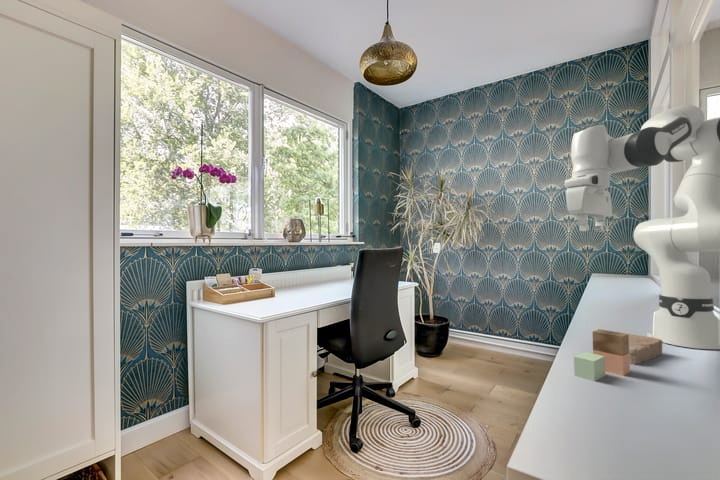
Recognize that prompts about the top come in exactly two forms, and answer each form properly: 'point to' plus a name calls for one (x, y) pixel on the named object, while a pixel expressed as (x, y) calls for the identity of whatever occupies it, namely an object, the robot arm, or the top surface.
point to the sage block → (589, 366)
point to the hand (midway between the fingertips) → (591, 231)
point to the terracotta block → (615, 363)
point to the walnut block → (611, 342)
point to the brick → (643, 348)
